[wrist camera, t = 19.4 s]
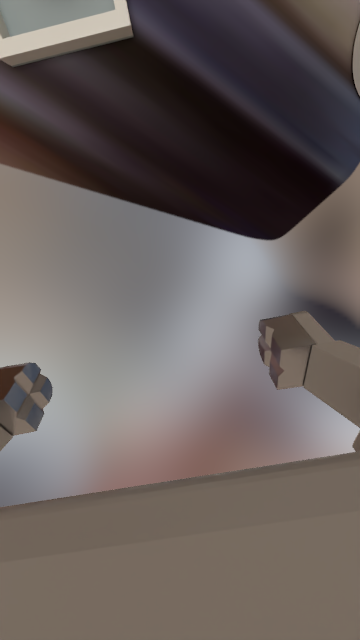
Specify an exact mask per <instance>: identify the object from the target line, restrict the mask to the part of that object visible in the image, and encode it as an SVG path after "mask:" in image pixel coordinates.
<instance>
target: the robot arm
mask: <svg viewBox="0 0 360 640" xmlns="http://www.w3.org/2000/svg"><path fill="white" fill-rule="evenodd" d="M353 77H354V82H355V86H356V89H357V92H358V94H359V96H360V24H359V27H358V31H357V35H356V39H355V44H354V51H353ZM259 331H260V333H261V336H260V337H259V339H258V346H259V352H260V356H261V358H262V361H263V363H264V364H265V365H266V366H268V367H270V369H269V375H270V377H271V379H272V381H273V383H274V385H275V387H276V388H277V390H280V389H287V388H294V387H301V386H304V388H305V389H307V390H308V391H309V392H311V393H312V394H313V395H315V396H316V397H318V398H319V399H321V400H322V401H323V402H325V403H326V404H327V405H329V406H330V407H331V408H333V409H334V410H336V411H337V412H339V413H340V414H341V415H343V416H344V417H345V418H347V419H348V420H350V421H351V422H352V423H354V424H355V425H357V426H358V427H359V428H360V348H359V347H356V346H353V345H351V344H348V343H346V342H343V341H335V340H334V339H333V338H332V337H331V336H330V335H329V334H328V333H327V332H326V331H325V330H324V329H323V328H322V327H321V326H320V325H319V323H317V322H316V320H315V319H314V318H313V317H312V316H311V315H310V314H309V313H308V312H306V311H301V312H297V313H291V314H289V315H283V316H278V317H273V318H268V319H262V320H260V321H259ZM40 371H41V369H40V368H39V367H38V366H37V364H36V363H24V364H19V365H12V366H6V367H2V368H0V451H1V450H2V448H3V447H4V446H5V445H6V444H7V443H8V442H9V441H10V440H11V439H12V437H13V436H14V435H19V434H23V433H29V432H34V431H37V428H38V426H39V424H40V422H41V420H42V417H43V415H44V411H43V408H44V407H45V406H46V405H47V404H48V403H49V402H50V399H51V397H52V385H51V382H50V381H49V379H48V378H47V377H45V376H43V375H41V374H40ZM353 448H354V449H355V451H356V452H353V453H347V454H340V455H334V456H327V457H321V458H315V459H308V460H302V461H296V462H289V463H282V464H276V465H270V466H263V467H257V468H250V469H244V470H237V471H231V472H225V473H218V474H212V475H206V476H199V477H193V478H186V479H180V480H173V481H167V482H161V483H154V484H147V485H141V486H135V487H128V488H122V489H115V490H109V491H102V492H96V493H89V494H83V495H77V496H70V497H64V498H57V499H51V500H45V501H38V502H32V503H25V504H19V505H12V506H6V507H0V640H360V431H359V433H358V435H357V437H356V439H355V441H354V443H353Z"/></svg>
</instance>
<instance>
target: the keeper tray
mask: <svg viewBox="0 0 360 640" xmlns="http://www.w3.org/2000/svg"><path fill="white" fill-rule="evenodd" d="M132 37H133V32H132V27H131V22H130V17H129V12H128V7H127V2H126V0H0V60H2V61H4V62H5V63H7V64H9V65H10V66H12V67H16V66H20V65H24V64H28V63H32V62H36V61H40V60H44V59H48V58H52V57H56V56H60V55H64V54H68V53H72V52H76V51H80V50H84V49H88V48H92V47H96V46H100V45H104V44H108V43H112V42H116V41H120V40H124V39H128V38H132Z"/></svg>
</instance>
